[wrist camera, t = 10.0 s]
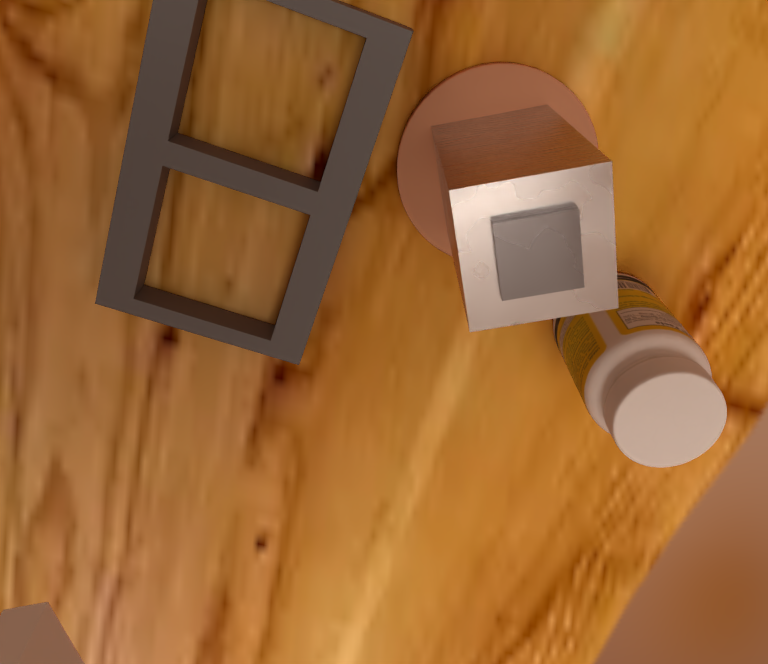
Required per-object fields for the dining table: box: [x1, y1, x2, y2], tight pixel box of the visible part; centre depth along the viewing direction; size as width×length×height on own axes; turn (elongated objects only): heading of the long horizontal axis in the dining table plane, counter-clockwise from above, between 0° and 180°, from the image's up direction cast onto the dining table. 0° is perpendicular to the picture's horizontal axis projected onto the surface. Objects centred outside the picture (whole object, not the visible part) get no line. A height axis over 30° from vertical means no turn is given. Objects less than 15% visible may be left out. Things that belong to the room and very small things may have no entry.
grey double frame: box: [95, 0, 413, 365], centre depth 29 cm, size 9×14×2 cm, turn 161°
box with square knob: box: [431, 105, 619, 332], centre depth 25 cm, size 4×4×9 cm
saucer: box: [397, 62, 598, 256], centre depth 30 cm, size 8×8×1 cm
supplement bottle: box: [553, 273, 727, 467], centre depth 29 cm, size 5×5×8 cm
